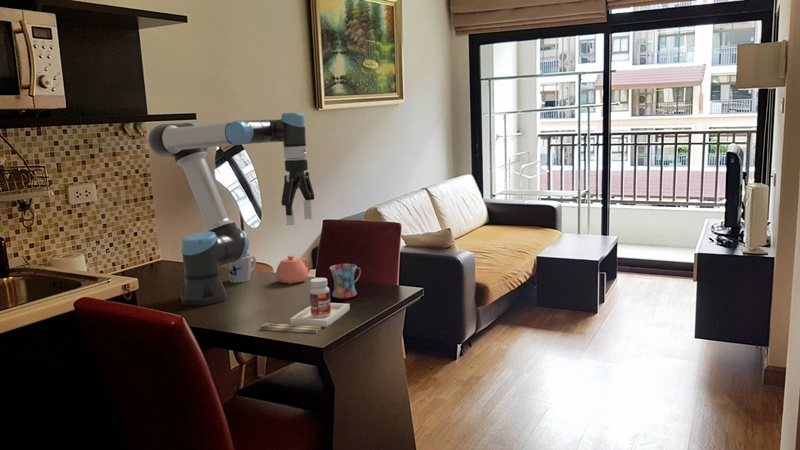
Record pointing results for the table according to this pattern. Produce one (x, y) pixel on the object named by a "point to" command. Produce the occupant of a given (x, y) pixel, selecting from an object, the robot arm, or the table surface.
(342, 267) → the mug
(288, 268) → the pink teapot
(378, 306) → the table surface
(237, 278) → the mug
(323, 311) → the pill bottle
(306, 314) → the tray
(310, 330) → the tongs
